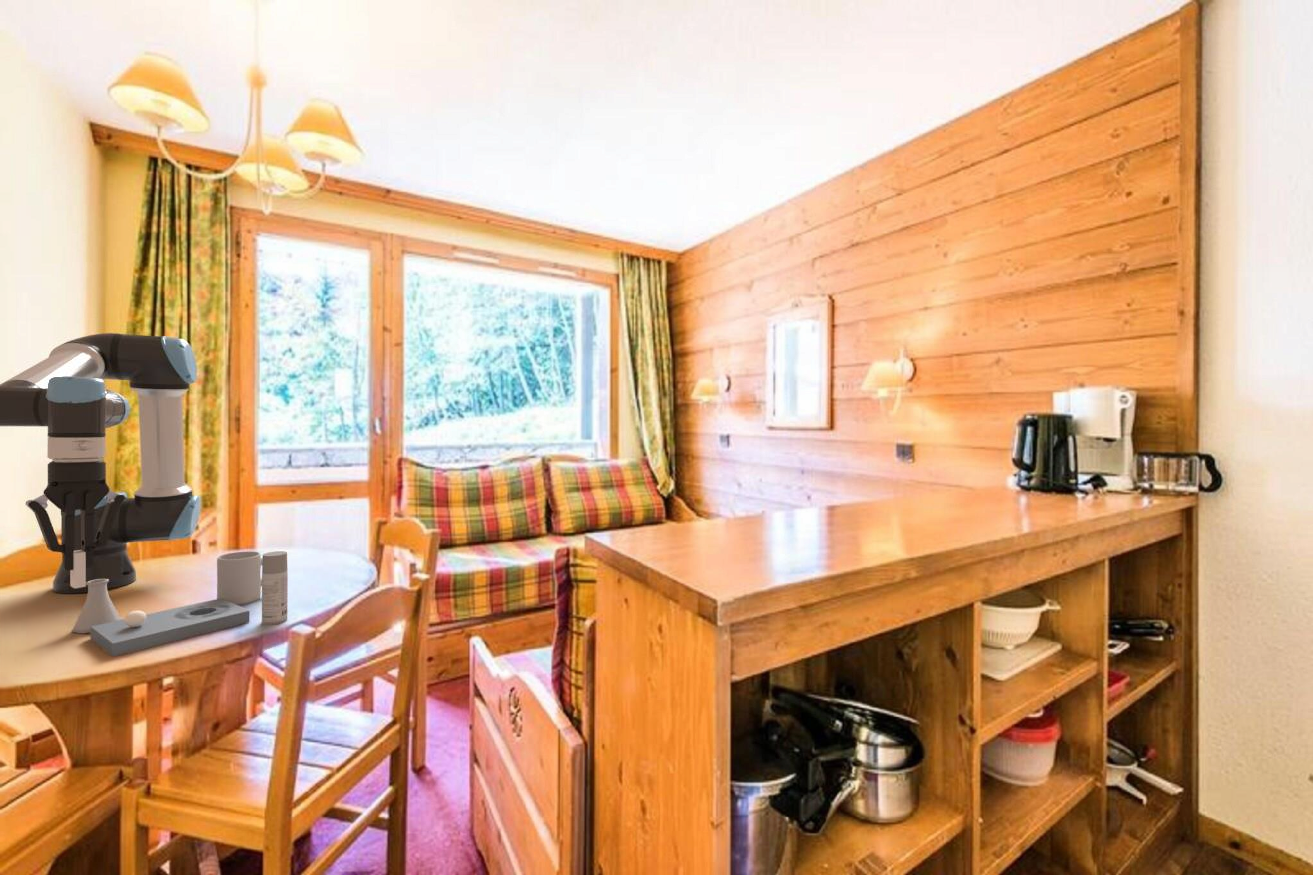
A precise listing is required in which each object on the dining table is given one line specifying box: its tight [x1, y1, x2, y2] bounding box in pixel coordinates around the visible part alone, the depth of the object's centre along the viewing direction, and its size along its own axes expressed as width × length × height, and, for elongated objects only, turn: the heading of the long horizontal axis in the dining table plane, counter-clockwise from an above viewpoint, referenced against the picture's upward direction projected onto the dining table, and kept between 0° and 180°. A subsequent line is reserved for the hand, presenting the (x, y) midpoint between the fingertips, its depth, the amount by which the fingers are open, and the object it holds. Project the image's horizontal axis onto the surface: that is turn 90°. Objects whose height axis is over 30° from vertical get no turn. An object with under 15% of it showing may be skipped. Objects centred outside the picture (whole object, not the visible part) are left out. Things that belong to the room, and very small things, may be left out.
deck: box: [90, 598, 250, 658], centre depth 117 cm, size 14×22×2 cm, turn 147°
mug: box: [216, 550, 263, 606], centre depth 137 cm, size 12×8×11 cm
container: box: [261, 550, 289, 626], centre depth 123 cm, size 5×5×15 cm
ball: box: [124, 610, 147, 627], centre depth 112 cm, size 3×3×3 cm
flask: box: [71, 579, 123, 634], centre depth 117 cm, size 7×7×10 cm
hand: (78, 586), depth 104 cm, fingers closed
